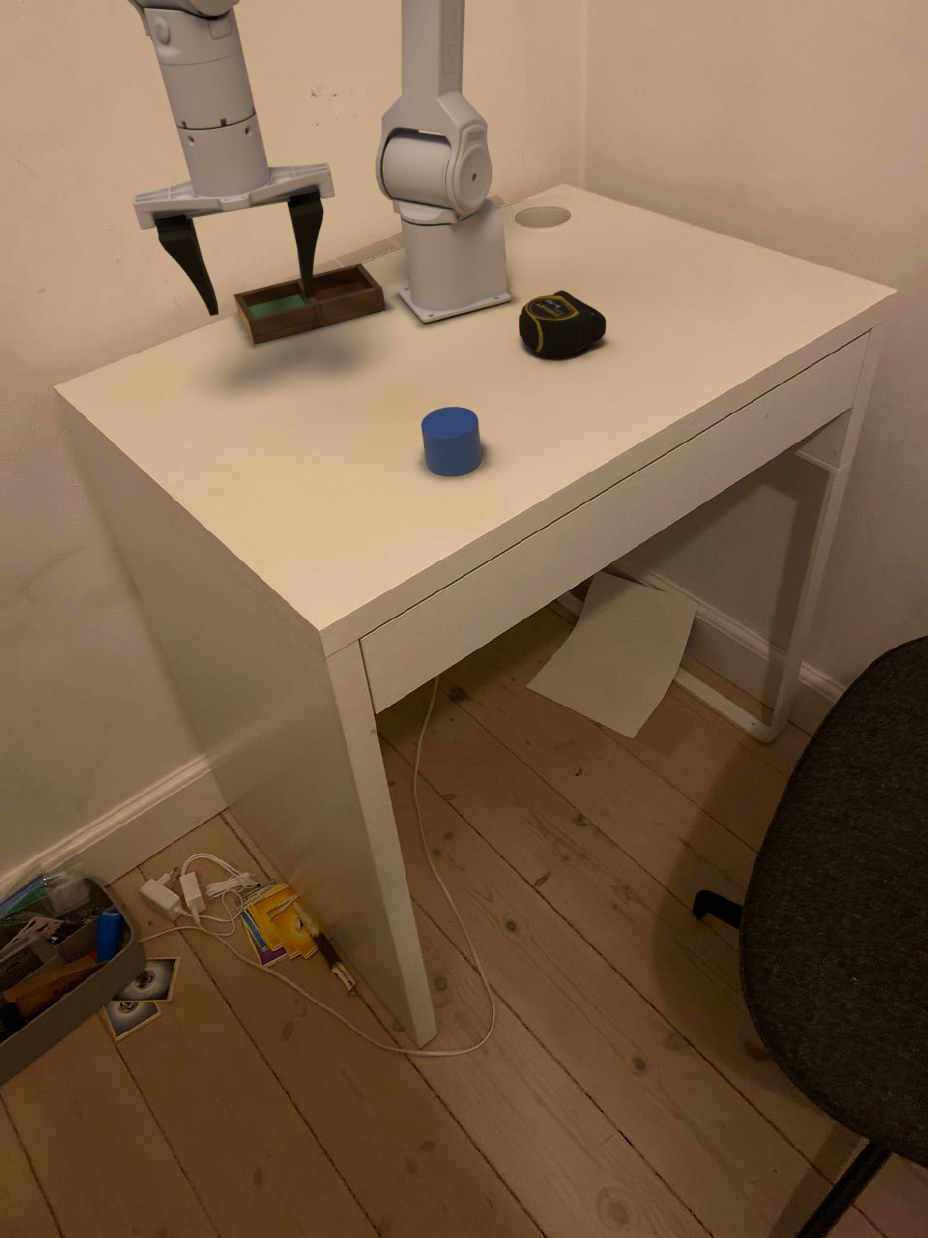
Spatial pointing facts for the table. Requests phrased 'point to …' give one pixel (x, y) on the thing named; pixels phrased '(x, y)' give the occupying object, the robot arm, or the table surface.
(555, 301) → the tape measure
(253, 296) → the holder
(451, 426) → the cylinder
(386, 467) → the table surface
